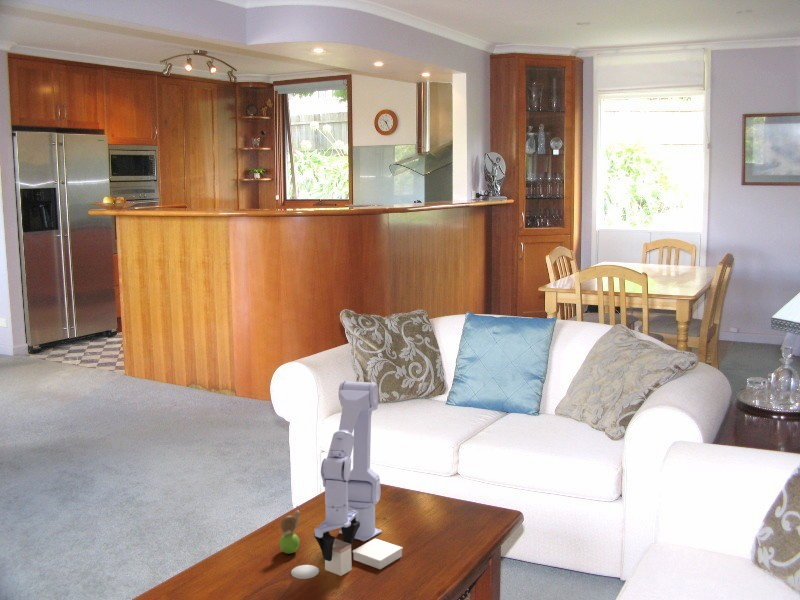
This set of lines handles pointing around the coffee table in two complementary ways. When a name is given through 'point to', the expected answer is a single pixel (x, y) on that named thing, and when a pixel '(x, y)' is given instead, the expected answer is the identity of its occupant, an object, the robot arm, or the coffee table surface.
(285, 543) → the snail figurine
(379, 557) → the podium
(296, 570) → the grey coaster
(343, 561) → the carton
